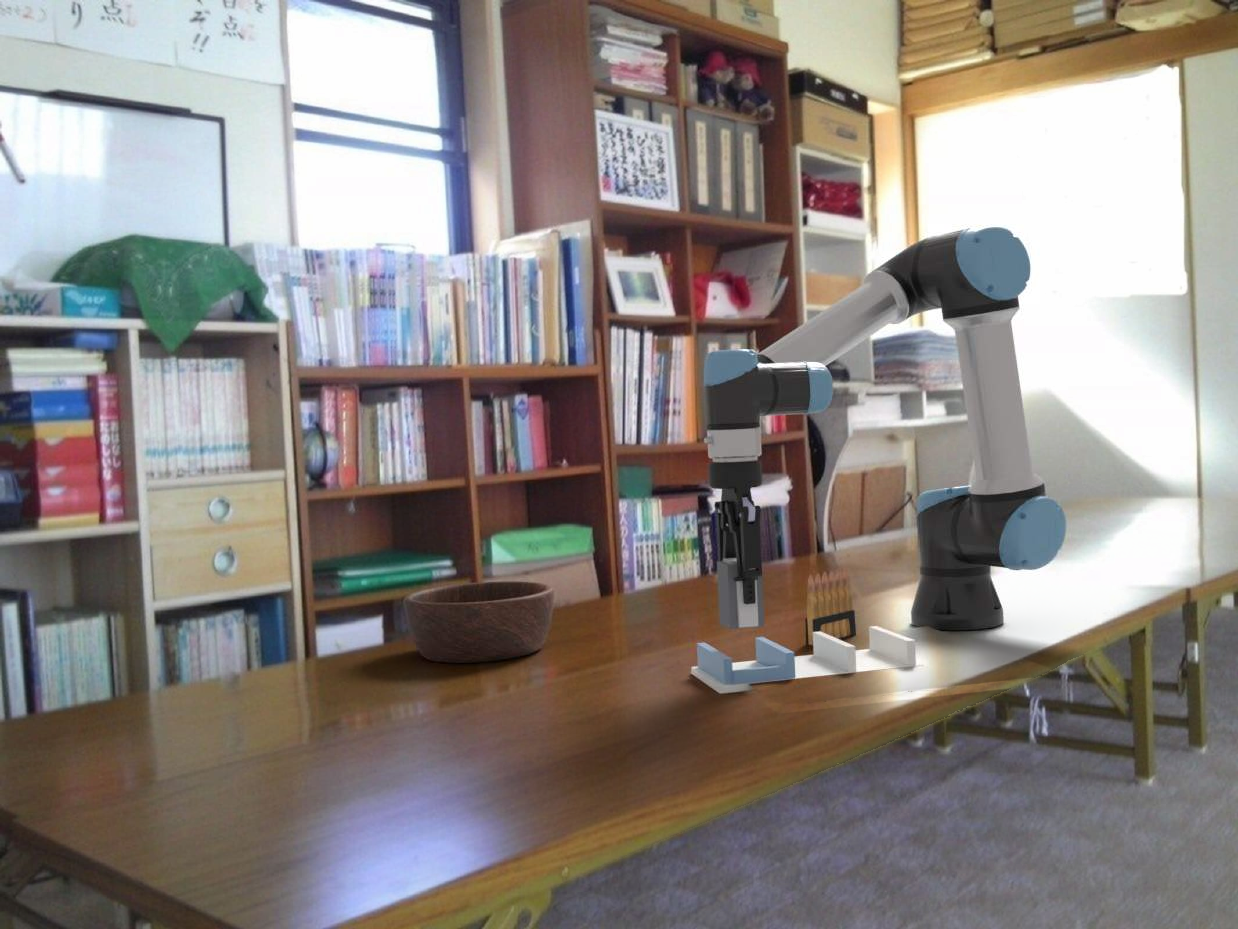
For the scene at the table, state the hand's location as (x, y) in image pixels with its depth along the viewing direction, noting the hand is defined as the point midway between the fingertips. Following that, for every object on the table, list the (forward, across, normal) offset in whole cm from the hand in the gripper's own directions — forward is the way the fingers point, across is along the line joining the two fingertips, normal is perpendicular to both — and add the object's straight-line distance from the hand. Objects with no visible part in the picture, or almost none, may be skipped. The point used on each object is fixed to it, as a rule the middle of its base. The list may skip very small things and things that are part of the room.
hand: (741, 623), depth 177 cm
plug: (0, 0, 0) cm, 0 cm away
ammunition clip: (+8, -17, +20) cm, 28 cm away
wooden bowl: (+9, -40, -33) cm, 53 cm away
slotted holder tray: (+8, 0, +9) cm, 12 cm away
